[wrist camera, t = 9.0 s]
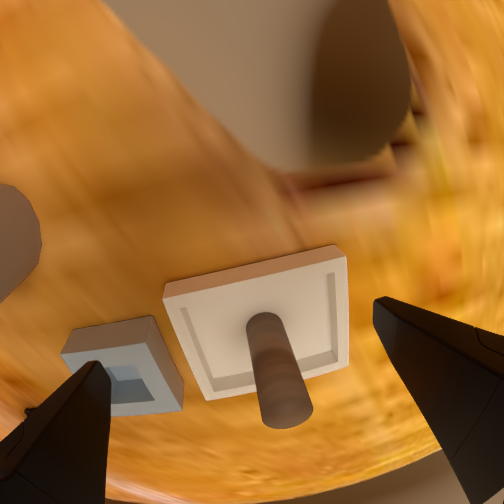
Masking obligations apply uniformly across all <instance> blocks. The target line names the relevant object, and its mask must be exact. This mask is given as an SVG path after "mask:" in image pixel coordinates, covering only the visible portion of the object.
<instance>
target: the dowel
mask: <svg viewBox="0 0 504 504" xmlns="http://www.w3.org/2000/svg"><path fill="white" fill-rule="evenodd" d="M246 334H247V340H248V345H249V351H250V357H251V362H252V368H253V373H254V379H255V384H256V390H257V395H258V400H259V406H260V411H261V416H262V421H263V423H264V424H265V425H266V426H268V427H271V428H275V429H286V428H291V427H294V426H297V425H299V424H301V423H303V422H305V421H306V420H307V419H308V418H309V417H310V416H311V414H312V412H313V405H312V402H311V400H310V397H309V394H308V391H307V389H306V386H305V383H304V380H303V378H302V375H301V372H300V369H299V366H298V364H297V361H296V358H295V355H294V353H293V350H292V347H291V344H290V342H289V339H288V336H287V333H286V331H285V328H284V325H283V322H282V320H281V318H280V317H279V316H278V315H276V314H274V313H271V312H262V313H258V314H256V315H254V316H253V317H252V318H250V320H249V321H248V322H247V325H246Z"/></svg>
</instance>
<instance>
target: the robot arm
mask: <svg viewBox="0 0 504 504" xmlns="http://www.w3.org/2000/svg"><path fill="white" fill-rule="evenodd" d="M373 325H374V328H375V330H376V332H377V334H378V336H379V338H380V340H381V342H382V344H383V346H384V348H385V350H386V353H387V355H388V357H389V359H390V361H391V363H392V365H393V366H394V368H395V370H396V371H397V373H398V374H399V376H400V378H401V379H402V381H403V382H404V384H405V386H406V387H407V389H408V391H409V392H410V394H411V396H412V397H413V399H414V401H415V402H416V404H417V406H418V407H419V409H420V411H421V413H422V414H423V416H424V418H425V419H426V421H427V423H428V425H429V426H430V428H431V430H432V432H433V433H434V435H435V437H436V439H437V441H438V442H439V444H440V446H441V448H442V450H443V451H444V453H445V455H446V457H447V459H448V461H450V462H449V463H450V465H451V467H452V468H453V470H454V472H455V474H456V476H457V478H458V480H459V482H460V484H461V486H462V488H463V490H464V492H465V494H466V496H467V498H468V500H469V502H470V504H483V503H484V502H485V501H487V500H489V499H490V498H491V497H492V496H494V495H495V494H496V493H497V492H499V491H500V490H501V489H502V488H504V336H502V335H498V334H495V333H492V332H489V331H486V330H483V329H480V328H477V327H475V328H474V326H471V325H468V324H466V323H463V322H460V321H457V320H454V319H451V318H448V317H445V316H442V315H440V314H437V313H434V312H431V311H428V310H425V309H422V308H419V307H416V306H413V305H411V304H408V303H405V302H402V301H399V300H396V299H393V298H390V297H387V296H384V297H380V298H377V299H375V300H374V302H373ZM111 389H112V382H111V378H110V376H109V375H108V373H107V372H106V370H105V368H104V367H103V365H102V364H101V362H100V361H98V360H93V361H88V362H86V363H85V364H84V365H83V366H82V367H81V368H80V369H78V370H77V371H76V372H75V373H74V374H73V375H72V376H71V377H70V378H69V379H68V380H66V381H65V382H64V383H63V384H62V385H61V386H60V387H59V388H58V389H57V390H56V391H55V392H53V393H52V394H51V395H50V396H49V397H48V398H47V399H46V400H45V401H44V402H43V403H42V404H41V405H40V406H38V407H37V408H36V409H25V411H24V413H25V414H26V415H27V418H26V419H25V420H24V421H23V422H22V423H21V424H19V425H18V426H17V427H16V428H15V429H14V430H13V431H12V432H11V433H10V434H9V435H8V436H7V437H5V438H4V439H3V440H2V441H1V442H0V504H105V487H106V468H107V454H108V443H109V433H110V423H111ZM503 504H504V501H503Z"/></svg>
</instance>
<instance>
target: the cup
mask: <svg viewBox="0 0 504 504" xmlns="http://www.w3.org/2000/svg"><path fill="white" fill-rule="evenodd" d="M41 247H42V241H41V234H40V227H39V221H38V219H37V217H36V215H35V212H34V210H33V208H32V206H31V204H30V202H29V200H28V199H27V198H26V197H25V196H24V195H23V194H22V193H21V192H20V191H18V190H17V189H16V188H15V187H14V186H9V185H5V184H0V303H1V302H2V301H3V300H4V299H5V298H6V297H7V296H8V295H9V294H10V293H11V292H12V291H13V290H14V289H15V288H16V287H17V286H18V285H19V284H20V283H21V282H22V281H23V280H24V279H25V278H26V277H27V276H28V275H29V274H30V273H31V271H32V270H33V269H34V268H35V267H36V265H37V264H38V261H39V256H40V251H41Z"/></svg>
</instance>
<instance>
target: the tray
mask: <svg viewBox="0 0 504 504" xmlns="http://www.w3.org/2000/svg"><path fill="white" fill-rule="evenodd" d="M162 301H163V303H164V306H165V308H166V311H167V313H168V316H169V318H170V321H171V323H172V326H173V328H174V331H175V333H176V336H177V338H178V340H179V343H180V345H181V347H182V350H183V352H184V354H185V356H186V359H187V361H188V363H189V365H190V368H191V370H192V372H193V374H194V376H195V379H196V381H197V383H198V385H199V387H200V389H201V391H202V393H203V395H204V397H205V399H206V401H208V400H214V399H220V398H226V397H231V396H236V395H241V394H246V393H251V392H256V391H257V390H256V384H255V379H254V373H253V368H252V362H251V357H250V351H249V345H248V340H247V334H246V325H247V322H248V321H249V320H250V318H252V317H253V316H254V315H256V314H258V313H262V312H271V313H274V314H276V315H278V316H279V317H280V318H281V320H282V322H283V325H284V328H285V331H286V333H287V336H288V339H289V342H290V344H291V347H292V350H293V353H294V355H295V358H296V361H297V364H298V366H299V369H300V372H301V375H302V378H303V380H304V379H308V378H311V377H315V376H318V375H322V374H325V373H328V372H332V371H335V370H338V369H341V368H344V367H347V366H349V301H348V274H347V256H346V255H345V254H344V253H343V252H342V251H341V250H340V249H339V248H338V247H337V246H336V245H335V244H334V245H330V246H325V247H321V248H317V249H313V250H309V251H304V252H300V253H296V254H292V255H287V256H283V257H279V258H275V259H270V260H266V261H262V262H257V263H253V264H249V265H244V266H240V267H236V268H231V269H227V270H223V271H218V272H214V273H209V274H205V275H200V276H196V277H192V278H187V279H183V280H178V281H174V282H169V283H166V285H165V289H164V293H163V296H162Z"/></svg>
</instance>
